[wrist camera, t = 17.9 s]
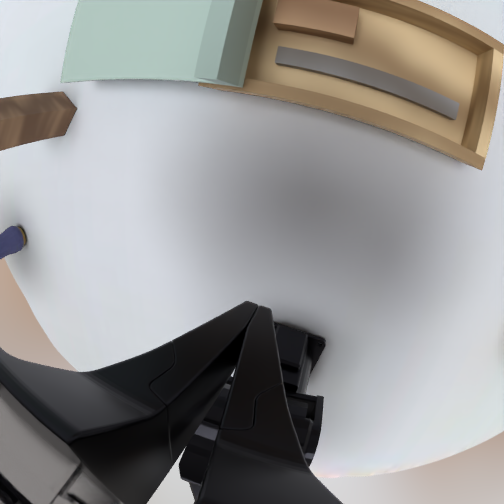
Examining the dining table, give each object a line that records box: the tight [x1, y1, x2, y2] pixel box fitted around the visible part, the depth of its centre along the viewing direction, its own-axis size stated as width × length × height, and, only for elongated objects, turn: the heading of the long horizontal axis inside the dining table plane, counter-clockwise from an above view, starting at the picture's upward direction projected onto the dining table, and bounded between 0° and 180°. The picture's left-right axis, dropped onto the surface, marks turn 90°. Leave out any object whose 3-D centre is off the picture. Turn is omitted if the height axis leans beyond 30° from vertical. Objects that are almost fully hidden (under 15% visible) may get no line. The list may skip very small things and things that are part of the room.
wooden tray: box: [198, 0, 504, 170], centre depth 14 cm, size 9×18×4 cm, turn 78°
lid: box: [60, 0, 263, 88], centre depth 13 cm, size 9×16×4 cm, turn 78°
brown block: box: [0, 92, 77, 151], centre depth 18 cm, size 4×4×13 cm
